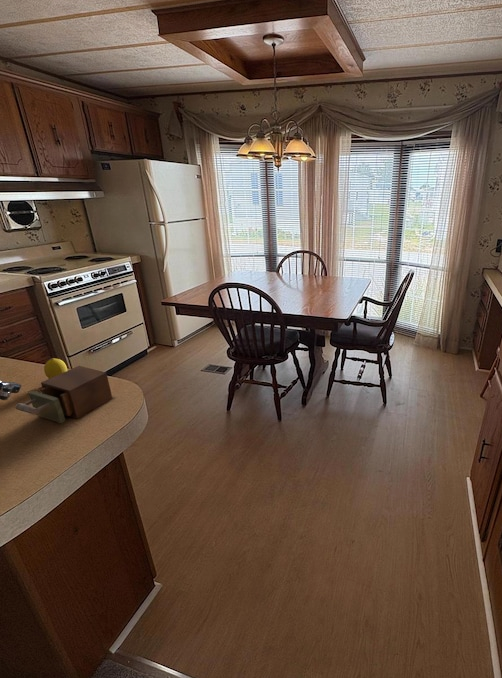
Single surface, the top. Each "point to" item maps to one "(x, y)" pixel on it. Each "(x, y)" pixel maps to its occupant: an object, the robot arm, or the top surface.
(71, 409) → the drawer
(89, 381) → the cabinet
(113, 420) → the top surface
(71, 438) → the top surface
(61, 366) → the lemon
